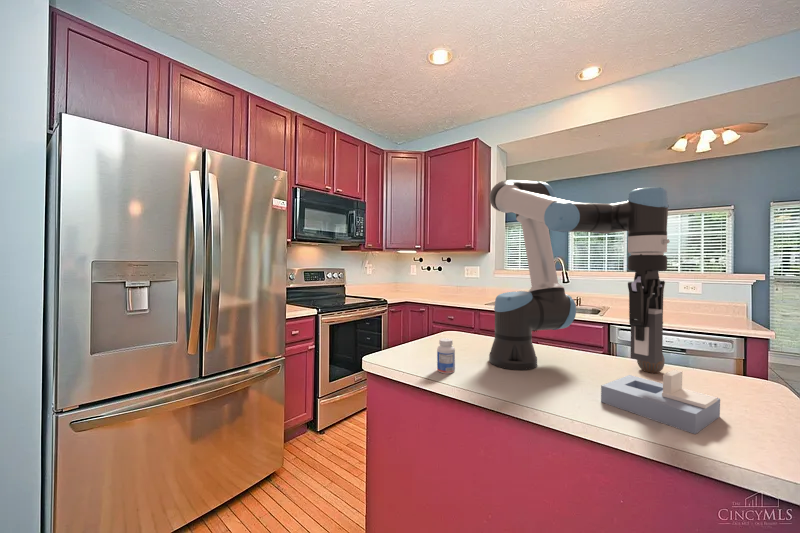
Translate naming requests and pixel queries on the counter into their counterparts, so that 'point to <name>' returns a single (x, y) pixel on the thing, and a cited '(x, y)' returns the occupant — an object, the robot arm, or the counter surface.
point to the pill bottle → (445, 356)
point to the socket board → (657, 404)
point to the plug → (651, 337)
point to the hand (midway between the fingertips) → (646, 352)
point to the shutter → (684, 391)
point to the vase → (651, 365)
